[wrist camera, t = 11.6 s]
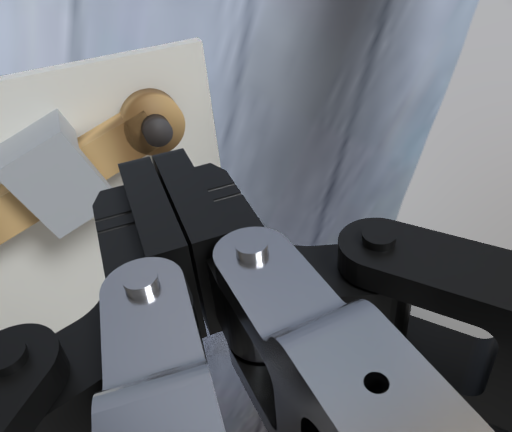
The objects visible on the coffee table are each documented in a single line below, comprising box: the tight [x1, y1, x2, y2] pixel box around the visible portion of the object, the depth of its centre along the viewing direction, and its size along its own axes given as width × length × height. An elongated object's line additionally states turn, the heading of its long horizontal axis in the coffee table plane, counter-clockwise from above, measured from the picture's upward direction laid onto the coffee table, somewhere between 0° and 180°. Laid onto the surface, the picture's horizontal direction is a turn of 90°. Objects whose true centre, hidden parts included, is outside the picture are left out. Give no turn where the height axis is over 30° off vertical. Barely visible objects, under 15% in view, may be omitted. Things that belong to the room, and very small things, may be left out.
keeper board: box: [0, 37, 221, 333], centre depth 37 cm, size 25×24×6 cm
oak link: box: [0, 88, 185, 245], centre depth 34 cm, size 18×4×3 cm, turn 116°
